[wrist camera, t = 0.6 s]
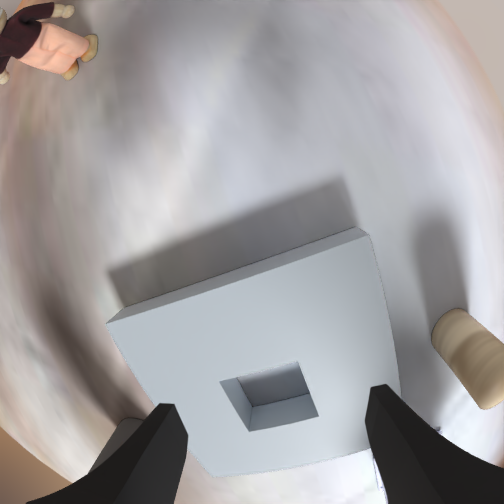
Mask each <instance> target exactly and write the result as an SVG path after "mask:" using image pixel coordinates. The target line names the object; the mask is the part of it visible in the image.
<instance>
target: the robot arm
mask: <svg viewBox="0 0 504 504" xmlns="http://www.w3.org/2000/svg"><path fill="white" fill-rule="evenodd" d="M365 426H366V431H367V435H368V440H369V444H370V447H371V450H372V453H373V455H374V459H373V461H374V466H375V471H376V477H377V482H378V488H379V491H380V492H382V491H384V494H385V498H386V503H387V504H504V468H501V467H498V466H495V465H493V464H490V463H488V462H486V461H484V460H482V459H480V458H477V457H475V456H473V455H471V454H469V453H468V452H466V451H464V450H463V449H461V448H459V447H458V446H456V445H455V444H453V443H452V442H450V441H449V440H447V439H446V438H445V437H443V436H442V432H441V431H436V430H434V429H433V428H432V427H431V426H430V425H428V424H427V423H426V422H425V421H424V420H423V419H422V418H421V417H419V416H418V415H417V414H416V413H415V412H414V411H413V410H412V409H411V408H410V407H409V406H408V405H407V404H406V403H405V402H404V401H403V400H402V399H401V398H400V397H399V396H398V395H397V394H396V393H395V392H394V391H393V390H392V389H391V388H390V387H389V386H388V385H387V384H382V385H378V386H373V387H371V388H370V394H369V400H368V405H367V411H366V416H365ZM188 436H189V435H188V433H187V431H186V429H185V426H184V424H183V422H182V420H181V418H180V416H179V413H178V411H177V409H176V406H175V404H171V403H159V404H158V405H157V406H156V408H155V409H154V410H153V411H152V412H151V413H150V414H149V416H148V417H147V418H146V419H145V420H144V421H143V423H142V424H141V425H140V426H139V427H138V428H137V429H136V430H135V432H134V433H133V434H132V435H131V436H130V437H129V438H128V439H127V440H126V441H125V442H124V443H123V444H122V445H121V446H120V447H119V448H118V449H117V450H116V451H115V452H114V453H113V454H112V455H111V456H110V457H109V458H108V459H106V460H105V461H104V462H103V463H102V464H100V465H99V466H98V467H97V468H95V469H94V470H93V471H91V472H90V473H88V474H87V475H85V476H84V477H82V478H81V479H79V480H77V481H76V482H74V483H73V484H71V485H69V486H67V487H65V488H63V489H61V490H59V491H57V492H55V493H52V494H50V495H47V496H45V497H42V498H39V499H36V500H32V501H29V502H27V503H26V504H174V500H175V496H176V493H177V489H178V485H179V482H180V478H181V474H182V471H183V467H184V463H185V459H186V453H187V446H188Z"/></svg>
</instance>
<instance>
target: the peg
mask: <svg viewBox="0 0 504 504" xmlns="http://www.w3.org/2000/svg"><path fill="white" fill-rule="evenodd" d="M431 341H432V345H433V347H434V348H435V349H436V351H437V352H438V353H439V354H440V356H441V357H442V358H443V359H444V361H445V362H446V363H447V365H448V366H449V367H450V368H451V370H452V371H453V372H454V374H455V375H456V376H457V378H458V379H459V380H460V382H461V383H462V384H463V386H464V387H465V388H466V390H467V391H468V392H469V394H470V395H471V397H472V398H473V399H474V401H475V402H476V404H477V405H478V406H479V408H480V409H483V410H486V409H490V408H492V407H494V406H496V405H498V404H499V403H500V402H502V401H503V400H504V344H503V343H502V342H501V341H500V340H499V339H498V338H496V337H495V336H494V335H493V334H492V333H491V332H490V331H488V330H487V329H486V328H485V327H484V326H483V325H481V324H480V323H479V322H478V321H477V320H475V319H474V318H473V317H472V316H471V315H469V314H468V313H467V312H466V311H464V310H463V309H458V308H457V309H452V310H450V311H448V312H447V313H445V314H444V315H443V316H442V317H441V318H440V319H439V320H438V322H437V323H436V325H435V327H434V329H433V332H432V337H431Z"/></svg>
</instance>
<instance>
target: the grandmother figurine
mask: <svg viewBox="0 0 504 504" xmlns="http://www.w3.org/2000/svg"><path fill="white" fill-rule="evenodd" d="M74 11H75V8H74V6H72V5H67V6H64V5H63V4H55V3H53V2H50V3H43V4H37V5H32V6H28V7H25V8H23V9H21V10H20V11H18V12H17V13H15V14H14V15H13V16H12V17H11V18H9V19H8V20H7V14H6V12H5V10H4V9H2V8H1V7H0V84H5V83H7V82H8V80H9V79H10V74H9V72H7V71H6V65H7V63H8V61H9V59H10V57H11V56H12V57H15V58H16V59H17V60H19V61H21V62H24V63H26V64H28V65H30V66H33V67H36V68H38V69H42V70H46V71H50V72H53V73H57V74H61V75H62V76H63V77H64V78H65V79H66V80H70V79H72V78H73V77H74V76H75V75H76V73H77V71H78V64H77V61H76V59H77V58H78V57H81V59H82V61H83V62H88V61H89V60H91V59H92V58H93V57H94V56H95V55H96V53H97V44H98V38H97V36H96V35H87V36H85V37H81V36H79V35H77V34H74V33H72V32H70V31H68V30H66V29H63V28H61V27H59V26H57V25H54V24H51V23H44V22H39V21H36V20H39V19H46V18H50V17H60V16H61V17H63V18H69V17H71V16H72V15H73V14H74Z"/></svg>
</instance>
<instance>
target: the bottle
mask: <svg viewBox="0 0 504 504" xmlns="http://www.w3.org/2000/svg"><path fill="white" fill-rule="evenodd" d="M142 423H143V421H142V420H139V419H134V418H127V419H124V420H122V421H121V422H120V424H119V425H118V427H117V428H116V430H115V431H114V433H113V434H112V436H111V437H110V439H109V440H108V442H107V444H106V445H105V447H104V448H103V450H102V451H101V453H100V455H99V456H98V458H97V460H96V461H95V463H94V464H93V466H92V468H91V469H90V471H89V472H88V473H90V472H91V471H93V470H94V469H95V468H97V467H98V466H99V465H100V464H102V463H103V462H104V461H105V460H106V459H108V458H109V457H110V456H111V455H112V454H113V453H114V452H115V451H116V450H117V449H118V448H119V447H120V446H121V445H122V444H123V443H124V442H125V441H126V440H127V439H128V438H129V437H130V436H131V435H132V434H133V433H134V432H135V430H136V429H137V428H138V427H139V426H140V425H141V424H142Z"/></svg>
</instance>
